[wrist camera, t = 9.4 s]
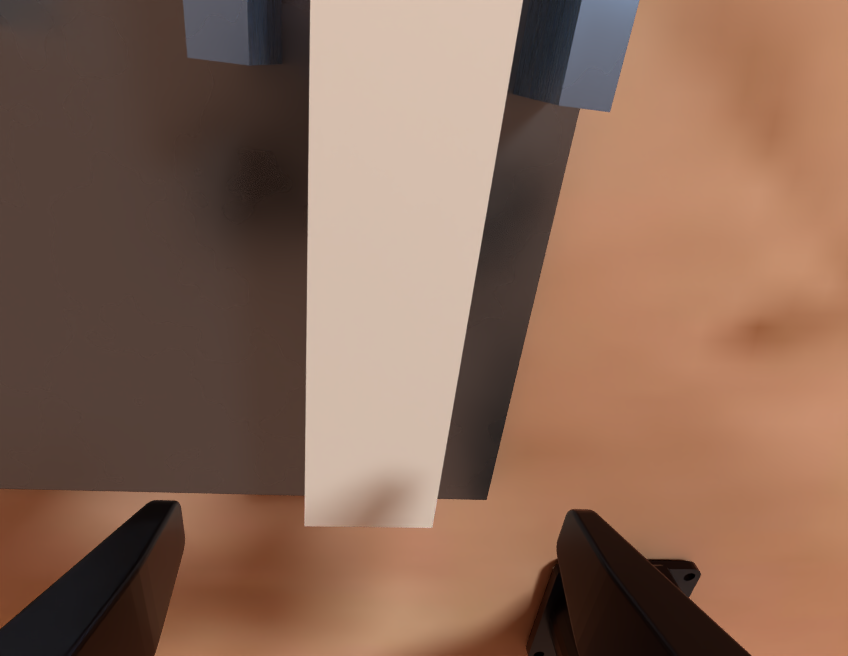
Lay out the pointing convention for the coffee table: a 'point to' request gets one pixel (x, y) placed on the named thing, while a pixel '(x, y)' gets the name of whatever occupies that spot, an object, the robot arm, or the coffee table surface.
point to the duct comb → (226, 238)
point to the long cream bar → (394, 241)
